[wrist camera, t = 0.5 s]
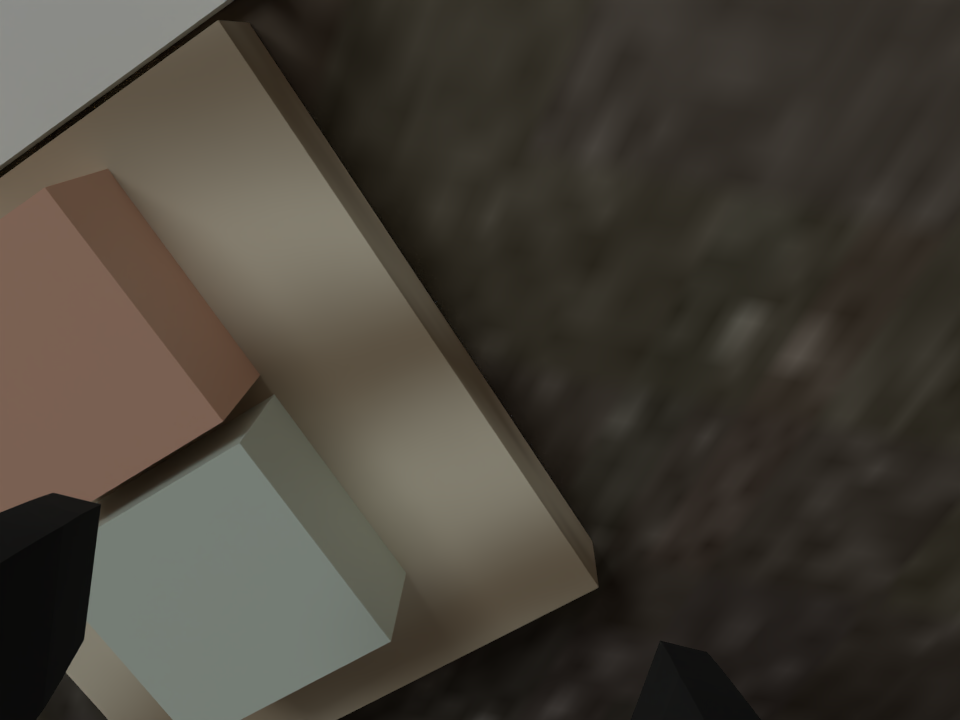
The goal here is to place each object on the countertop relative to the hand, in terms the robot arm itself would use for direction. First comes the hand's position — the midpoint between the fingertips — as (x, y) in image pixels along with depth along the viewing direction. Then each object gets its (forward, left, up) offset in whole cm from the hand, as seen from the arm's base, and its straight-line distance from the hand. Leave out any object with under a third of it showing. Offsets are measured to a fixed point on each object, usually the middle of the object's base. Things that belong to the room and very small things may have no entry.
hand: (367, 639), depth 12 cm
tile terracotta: (+5, +5, -8) cm, 11 cm away
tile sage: (-1, +5, -8) cm, 10 cm away
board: (+1, +5, -10) cm, 11 cm away
